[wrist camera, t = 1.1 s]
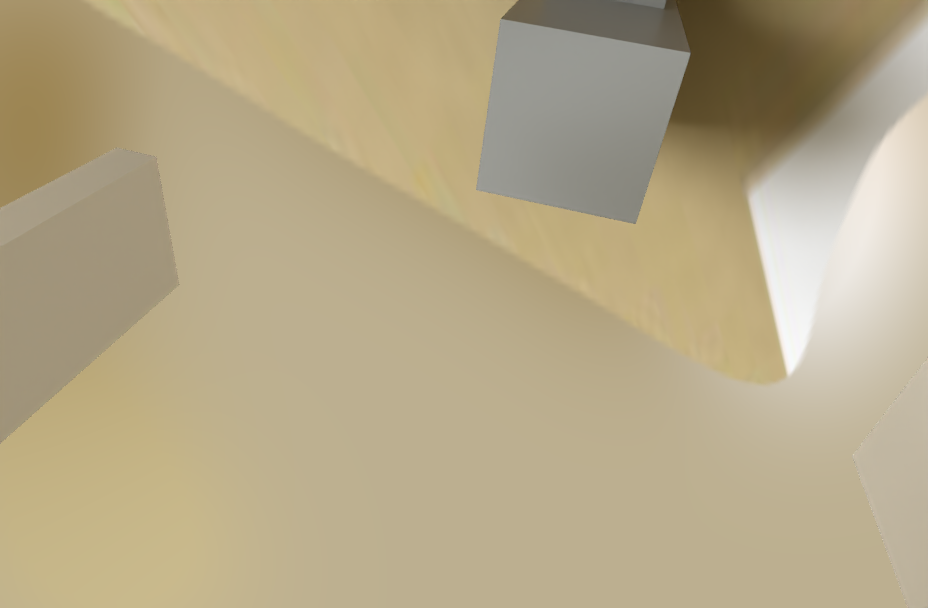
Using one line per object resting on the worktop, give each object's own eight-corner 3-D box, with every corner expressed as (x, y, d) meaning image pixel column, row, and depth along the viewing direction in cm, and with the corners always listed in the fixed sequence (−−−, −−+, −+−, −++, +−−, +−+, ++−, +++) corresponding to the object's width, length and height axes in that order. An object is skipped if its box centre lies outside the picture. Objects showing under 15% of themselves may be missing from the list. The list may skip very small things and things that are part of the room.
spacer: (571, -172, 22) (531, -199, 14) (715, -151, 21) (761, -167, 13) (523, 97, 27) (476, 190, 19) (636, 119, 27) (635, 224, 19)
